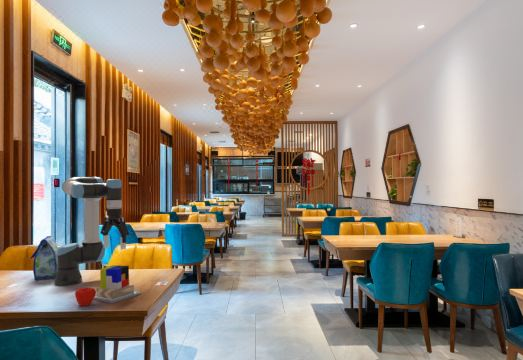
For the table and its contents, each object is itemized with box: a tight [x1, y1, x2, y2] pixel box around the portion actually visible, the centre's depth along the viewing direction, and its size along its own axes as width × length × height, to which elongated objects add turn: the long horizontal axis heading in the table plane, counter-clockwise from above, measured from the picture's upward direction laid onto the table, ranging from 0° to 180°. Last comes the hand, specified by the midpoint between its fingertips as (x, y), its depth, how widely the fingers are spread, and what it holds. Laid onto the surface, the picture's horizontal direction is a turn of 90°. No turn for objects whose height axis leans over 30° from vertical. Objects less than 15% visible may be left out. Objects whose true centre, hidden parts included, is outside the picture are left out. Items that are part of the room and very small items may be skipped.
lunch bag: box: [30, 235, 59, 281], centre depth 250 cm, size 22×17×26 cm
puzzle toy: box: [99, 264, 130, 289], centre depth 197 cm, size 10×10×10 cm
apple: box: [74, 287, 97, 307], centre depth 183 cm, size 9×9×8 cm
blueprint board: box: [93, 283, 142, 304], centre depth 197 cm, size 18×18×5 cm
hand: (114, 248), depth 199 cm, fingers open, 13 cm apart
